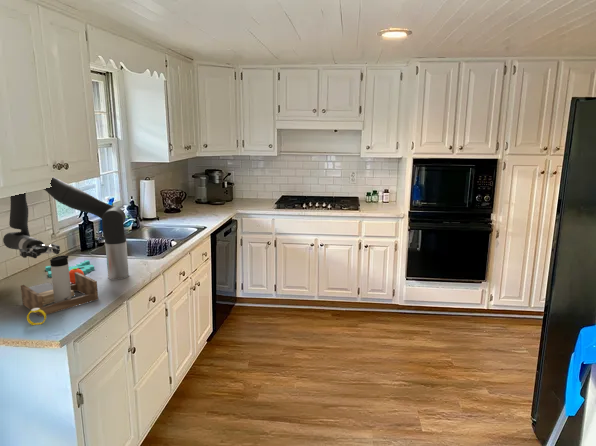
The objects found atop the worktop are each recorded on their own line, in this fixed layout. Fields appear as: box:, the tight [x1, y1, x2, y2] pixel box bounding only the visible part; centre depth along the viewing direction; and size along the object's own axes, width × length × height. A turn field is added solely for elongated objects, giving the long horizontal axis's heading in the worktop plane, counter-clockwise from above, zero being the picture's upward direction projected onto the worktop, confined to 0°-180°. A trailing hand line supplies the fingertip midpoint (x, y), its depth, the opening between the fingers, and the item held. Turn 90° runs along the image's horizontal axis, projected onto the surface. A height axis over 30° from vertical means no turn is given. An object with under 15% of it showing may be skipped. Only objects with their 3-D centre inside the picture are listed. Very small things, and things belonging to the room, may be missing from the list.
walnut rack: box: [20, 272, 99, 317], centre depth 179 cm, size 18×22×8 cm
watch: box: [26, 308, 47, 326], centre depth 159 cm, size 6×3×6 cm, turn 104°
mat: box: [27, 282, 53, 293], centre depth 193 cm, size 11×11×1 cm
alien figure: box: [45, 259, 95, 278], centre depth 217 cm, size 20×2×20 cm
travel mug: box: [49, 254, 73, 304], centre depth 176 cm, size 6×7×20 cm
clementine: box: [69, 268, 85, 284], centre depth 201 cm, size 8×7×7 cm
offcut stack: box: [39, 290, 76, 306], centre depth 182 cm, size 5×13×4 cm, turn 144°
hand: (47, 253), depth 181 cm, fingers open, 8 cm apart
